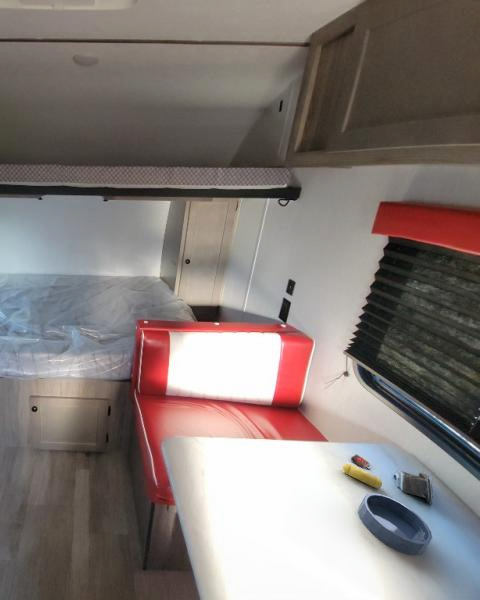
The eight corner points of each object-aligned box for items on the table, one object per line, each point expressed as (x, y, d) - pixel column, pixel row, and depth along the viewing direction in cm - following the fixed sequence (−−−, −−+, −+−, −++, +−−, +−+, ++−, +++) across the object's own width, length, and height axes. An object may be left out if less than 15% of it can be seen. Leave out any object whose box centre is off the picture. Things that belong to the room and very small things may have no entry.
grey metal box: (390, 465, 104) (396, 457, 96) (422, 472, 100) (431, 464, 92) (392, 498, 100) (399, 493, 92) (426, 507, 96) (436, 503, 87)
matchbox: (350, 461, 103) (350, 459, 103) (353, 453, 107) (353, 451, 106) (368, 471, 100) (369, 470, 100) (371, 462, 104) (372, 461, 103)
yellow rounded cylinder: (378, 488, 95) (382, 478, 95) (380, 491, 93) (384, 482, 93) (340, 469, 100) (344, 460, 100) (341, 472, 98) (345, 463, 98)
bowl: (420, 526, 85) (428, 515, 83) (427, 567, 75) (436, 556, 74) (358, 494, 92) (364, 484, 90) (357, 528, 82) (364, 517, 81)
